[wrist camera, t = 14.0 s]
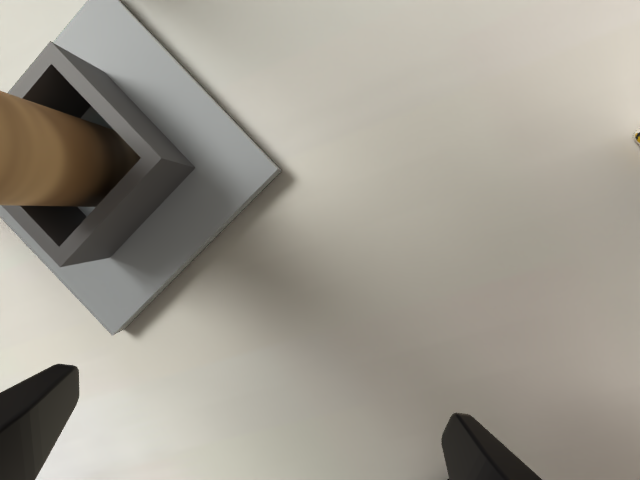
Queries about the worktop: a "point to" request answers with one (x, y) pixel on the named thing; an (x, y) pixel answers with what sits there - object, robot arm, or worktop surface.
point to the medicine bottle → (637, 136)
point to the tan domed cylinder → (57, 157)
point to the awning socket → (146, 175)
